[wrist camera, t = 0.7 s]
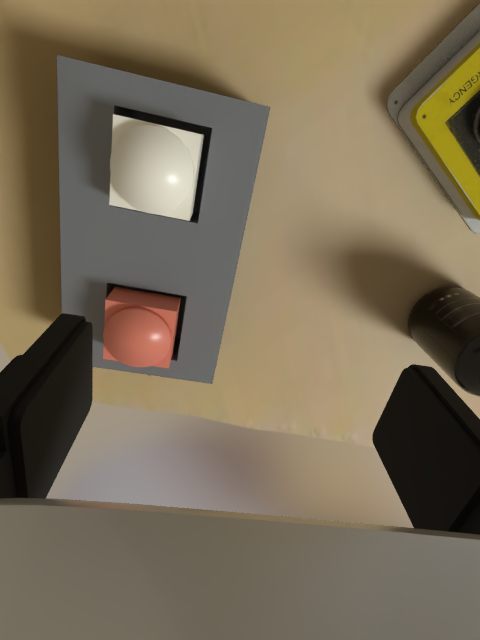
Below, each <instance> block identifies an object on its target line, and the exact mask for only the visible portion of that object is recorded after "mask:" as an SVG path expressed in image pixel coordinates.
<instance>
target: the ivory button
mask: <svg viewBox="0 0 480 640" xmlns="http://www.w3.org/2000/svg"><path fill="white" fill-rule="evenodd" d="M203 138H204V135H202V134H198V133H193V132H189V131H185V130H180V129H176V128H172V127H167V126H163V125H158V124H154V123H150V122H145V121H141V120H137V119H132V118H128V117H124V116H119V115H115V114H113V126H112V151H111V157H110V172H111V176H110V200H109V205H112V206H117V207H122V208H127V209H132V210H137V211H142V212H146V213H150V214H157V215H162V216H167V217H172V218H177V219H182V220H187V221H190V219H191V216H192V214H193V208H194V201H195V194H196V187H197V180H198V173H199V166H200V159H201V152H202V145H203Z"/></svg>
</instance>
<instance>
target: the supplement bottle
mask: <svg viewBox="0 0 480 640" xmlns="http://www.w3.org/2000/svg"><path fill="white" fill-rule="evenodd" d="M409 331H410V334H411V336H412V338H413V339H414V341H415V342H416V343H417V344H418V345H419V346H420V347H421V348H422V349H423V350H424V351H425V352H426V353H427V354H428V355H429V356H430V357H431V358H432V359H433V360H434V361H435V362H436V364H437V365H438V366H439V367H440V368H441V369H442V370H443V371H444V372H445V373H446V374H447V375H448V376H449V377H450V378H451V379H452V380H453V381H454V382H455V383H456V384H457V385H458V386H459V387H461V388H462V389H463V390H464V391H466V392H468V393H470V394H473V395H476V396H480V297H478V296H476V295H474V294H473V293H471V292H469V291H467V290H465V289H462V288H459V287H444V288H440V289H437V290H434V291H432V292H430V293H429V294H427V295H426V296H424V297H423V298H422V299H421V300H420V301H419V302H418V303H417V304H416V305H415V307H414V308H413V310H412V312H411V315H410V318H409Z"/></svg>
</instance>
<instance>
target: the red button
mask: <svg viewBox="0 0 480 640" xmlns="http://www.w3.org/2000/svg"><path fill="white" fill-rule="evenodd" d="M180 299H181V298H178V297H172V296H167V295H161V294H155V293H149V292H143V291H138V290H132V289H126V288H120V287H115V288H114V289H113V290H112V292H111V293H110V294H109V296H108V297H107V298H106V300H105V323H104V332H103V340H104V348H103V359H107V360H114V361H119V362H121V363H123V364H125V365H128V366H132V367H149V366H155V367H162V368H169V366H170V362H171V358H172V354H173V348H174V341H175V334H176V327H177V320H178V313H179V306H180Z"/></svg>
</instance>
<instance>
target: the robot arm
mask: <svg viewBox="0 0 480 640" xmlns="http://www.w3.org/2000/svg"><path fill="white" fill-rule="evenodd" d="M92 355H93V327H92V323H91V322H86V318H85V317H84V316H79V315H72V314H66V313H62V314H61V315H60V316H59V317H58V318H57V319H56V320H55V321H54V322H53V323H52V324H51V325H50V326H49V328H48V329H47V330H46V331H45V332H44V333H43V334H42V335H41V336H40V337H39V338H38V339H37V340H36V341H35V343H34V344H33V345H32V346H31V347H30V348H29V349H28V350H27V351H26V352H25V353H24V354H23V355H19V356H17V357H15V358H14V359H13V360H12V361H11V362H10V363H9V364H8V365H7V366H6V367H5V368H4V369H3V370H2V371H1V372H0V640H480V419H479V418H478V417H477V416H476V415H475V414H474V412H473V411H472V410H471V409H470V408H469V407H468V406H467V405H466V404H465V403H464V401H463V400H462V399H461V398H460V397H459V396H458V395H457V394H456V393H455V391H454V390H453V389H452V388H451V387H450V386H449V385H448V384H447V383H446V381H445V380H444V379H443V378H442V377H441V376H440V375H439V374H438V373H437V371H436V370H435V369H434V368H432V367H428V366H421V365H414V364H413V365H410V366H409V367H408V368H405V369H404V370H403V371H402V373H401V375H400V377H399V379H398V381H397V383H396V386H395V388H394V390H393V392H392V394H391V396H390V398H389V400H388V402H387V404H386V407H385V409H384V411H383V413H382V415H381V417H380V419H379V421H378V423H377V425H376V428H375V430H374V432H373V443H374V446H375V448H376V450H377V452H378V454H379V456H380V458H381V460H382V462H383V465H384V467H385V469H386V470H387V473H388V475H389V477H390V479H391V481H392V483H393V485H394V487H395V489H396V491H397V493H398V495H399V497H400V500H401V502H402V504H403V506H404V508H405V510H406V512H407V514H408V516H409V518H410V520H411V522H412V525H413V527H414V528H405V527H394V526H384V525H373V524H362V523H351V522H340V521H329V520H318V519H305V518H295V517H283V516H272V515H261V514H249V513H238V512H225V511H212V510H201V509H189V508H177V507H165V506H153V505H140V504H127V503H112V502H97V501H82V500H67V499H45V498H46V496H47V494H48V492H49V490H50V488H51V486H52V484H53V482H54V480H55V478H56V476H57V474H58V472H59V470H60V468H61V466H62V464H63V462H64V460H65V458H66V456H67V454H68V452H69V450H70V448H71V446H72V444H73V442H74V440H75V438H76V436H77V434H78V432H79V430H80V428H81V426H82V424H83V422H84V420H85V418H86V416H87V414H88V412H89V410H90V407H91V404H92Z"/></svg>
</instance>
